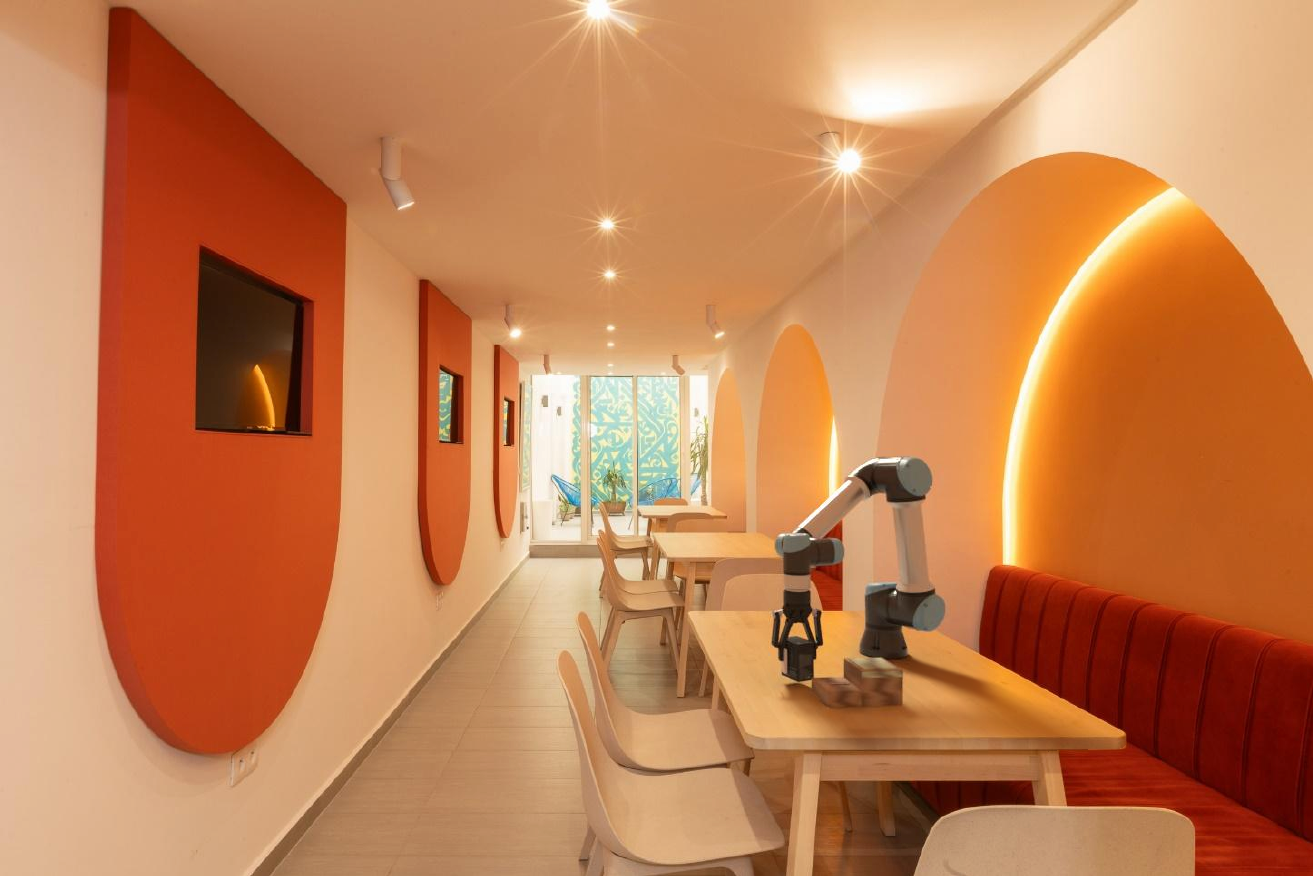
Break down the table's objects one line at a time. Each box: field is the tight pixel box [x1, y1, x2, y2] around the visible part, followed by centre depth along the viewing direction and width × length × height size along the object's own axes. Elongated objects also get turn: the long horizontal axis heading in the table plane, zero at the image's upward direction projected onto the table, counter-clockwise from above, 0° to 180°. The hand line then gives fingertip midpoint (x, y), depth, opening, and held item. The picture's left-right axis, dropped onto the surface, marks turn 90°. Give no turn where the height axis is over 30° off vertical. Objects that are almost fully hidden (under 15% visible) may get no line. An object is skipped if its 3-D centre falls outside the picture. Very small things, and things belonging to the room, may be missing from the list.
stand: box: [811, 657, 904, 709], centre depth 193 cm, size 20×12×9 cm, turn 98°
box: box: [780, 635, 815, 683], centre depth 205 cm, size 8×6×11 cm
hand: (797, 671), depth 205 cm, fingers closed on box, 7 cm apart
